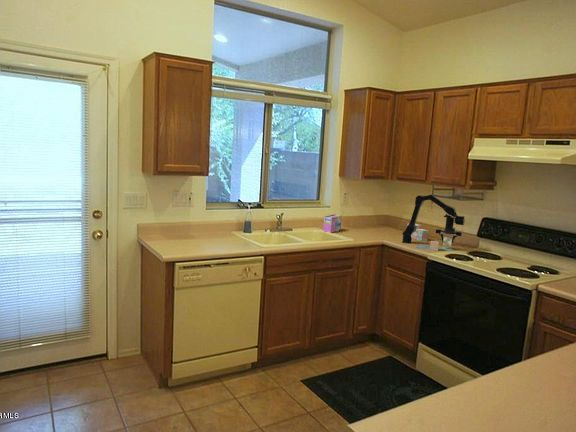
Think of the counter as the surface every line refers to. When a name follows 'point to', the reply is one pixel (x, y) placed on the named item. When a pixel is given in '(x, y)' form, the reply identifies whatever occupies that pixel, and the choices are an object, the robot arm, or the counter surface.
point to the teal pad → (447, 248)
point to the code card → (424, 247)
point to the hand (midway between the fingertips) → (447, 243)
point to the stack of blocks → (420, 233)
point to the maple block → (447, 241)
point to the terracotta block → (434, 245)
